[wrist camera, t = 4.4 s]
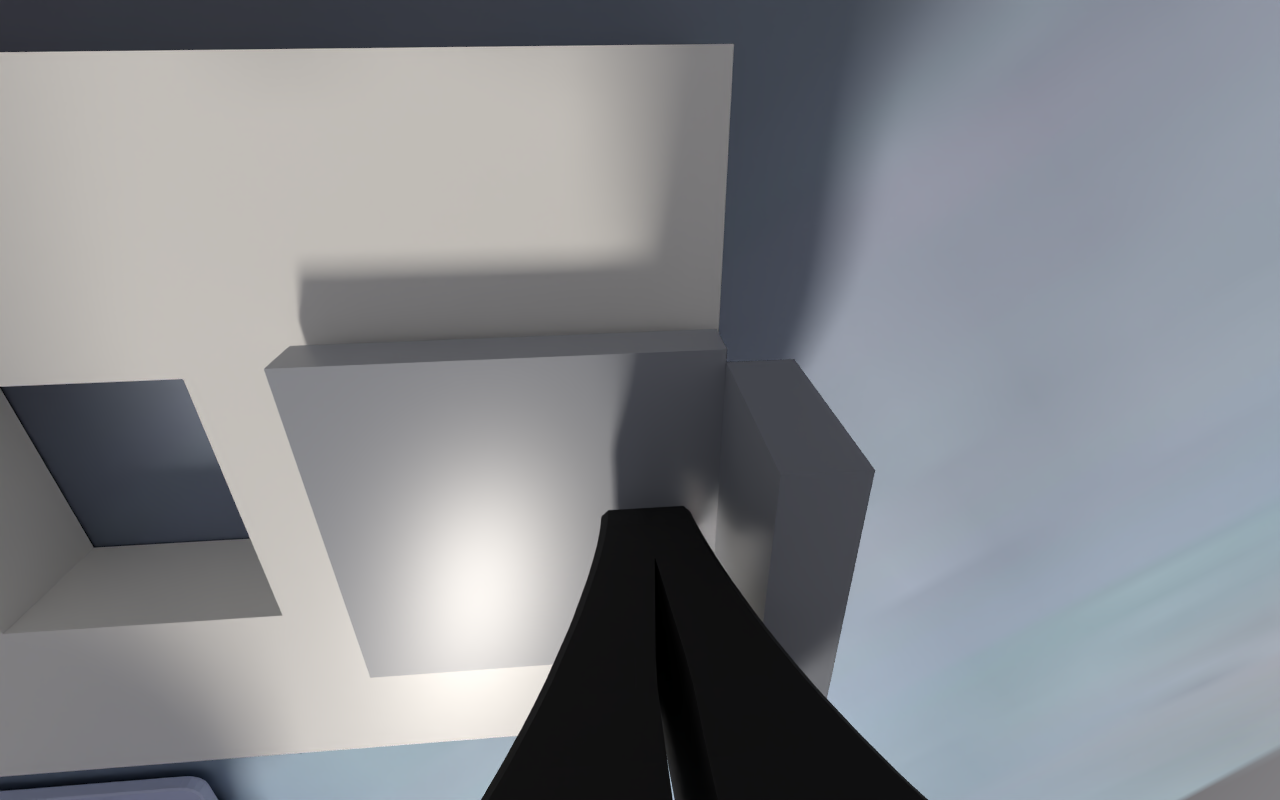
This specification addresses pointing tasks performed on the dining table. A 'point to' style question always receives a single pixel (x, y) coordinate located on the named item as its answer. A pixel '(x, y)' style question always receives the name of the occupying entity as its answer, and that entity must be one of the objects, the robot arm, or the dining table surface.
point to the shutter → (562, 484)
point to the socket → (302, 341)
